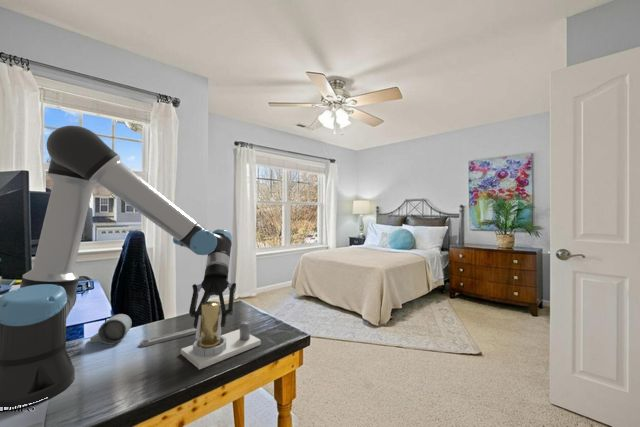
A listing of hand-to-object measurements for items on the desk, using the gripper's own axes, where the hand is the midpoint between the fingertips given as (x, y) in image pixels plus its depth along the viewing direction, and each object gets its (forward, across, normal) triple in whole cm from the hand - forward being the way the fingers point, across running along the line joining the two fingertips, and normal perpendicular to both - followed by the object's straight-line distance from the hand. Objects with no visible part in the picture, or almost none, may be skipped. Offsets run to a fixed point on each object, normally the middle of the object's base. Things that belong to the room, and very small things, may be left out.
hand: (207, 338), depth 82 cm
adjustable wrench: (-9, +11, -18) cm, 23 cm away
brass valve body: (0, 0, -5) cm, 5 cm away
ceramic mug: (-8, +33, -18) cm, 38 cm away
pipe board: (0, -3, -9) cm, 9 cm away
